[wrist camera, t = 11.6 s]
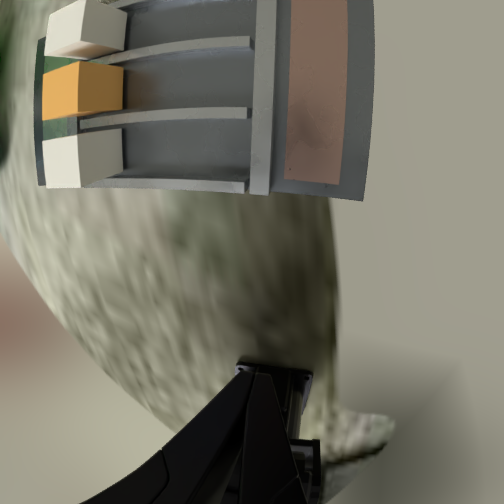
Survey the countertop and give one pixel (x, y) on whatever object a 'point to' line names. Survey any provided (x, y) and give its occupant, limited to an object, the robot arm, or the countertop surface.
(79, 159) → the block
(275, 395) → the robot arm
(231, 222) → the countertop surface
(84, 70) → the block
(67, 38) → the block
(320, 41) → the panel
